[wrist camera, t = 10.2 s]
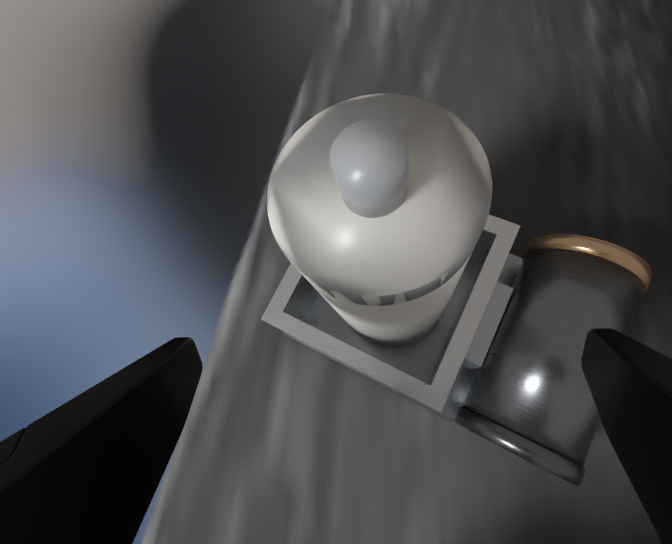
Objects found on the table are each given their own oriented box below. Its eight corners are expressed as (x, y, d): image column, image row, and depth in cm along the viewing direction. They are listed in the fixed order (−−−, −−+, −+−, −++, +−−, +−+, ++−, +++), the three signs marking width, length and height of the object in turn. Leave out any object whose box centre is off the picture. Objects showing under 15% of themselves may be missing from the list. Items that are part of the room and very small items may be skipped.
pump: (454, 342, 21) (535, 261, 8) (343, 351, 22) (244, 293, 8) (437, 238, 23) (481, 25, 9) (336, 250, 24) (244, 72, 10)
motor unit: (556, 474, 19) (615, 509, 14) (286, 335, 23) (250, 319, 18) (619, 299, 21) (694, 269, 15) (356, 199, 25) (343, 147, 20)
